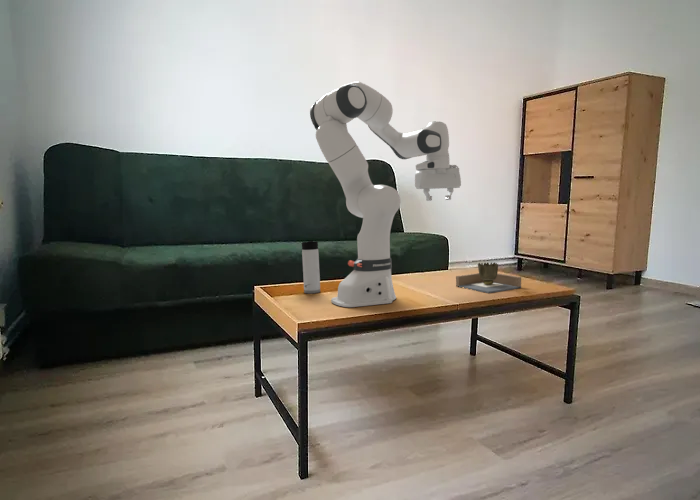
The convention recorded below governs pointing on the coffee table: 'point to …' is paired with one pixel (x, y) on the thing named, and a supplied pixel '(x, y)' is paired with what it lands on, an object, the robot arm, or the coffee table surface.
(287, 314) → the coffee table surface
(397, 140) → the robot arm
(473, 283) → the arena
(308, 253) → the travel mug
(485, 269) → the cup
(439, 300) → the coffee table surface
